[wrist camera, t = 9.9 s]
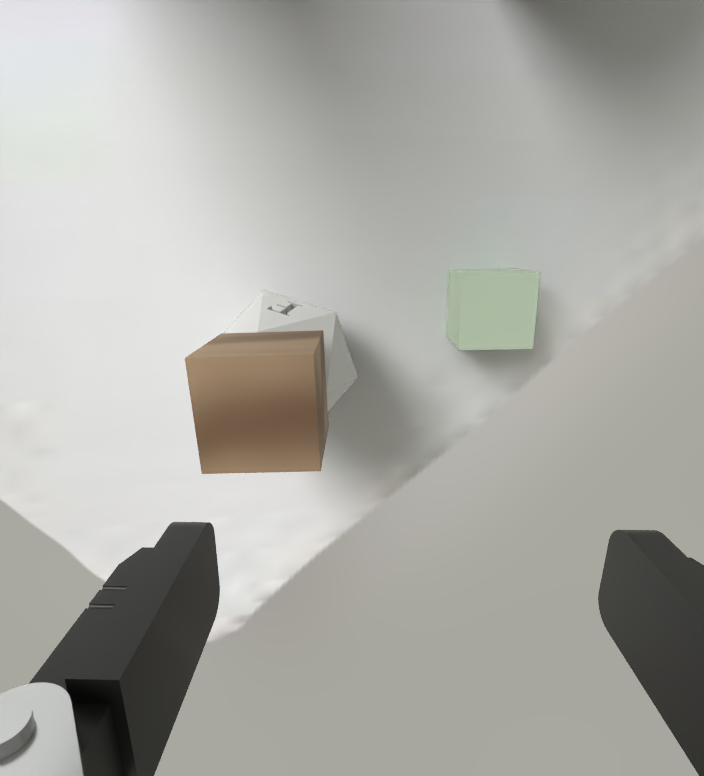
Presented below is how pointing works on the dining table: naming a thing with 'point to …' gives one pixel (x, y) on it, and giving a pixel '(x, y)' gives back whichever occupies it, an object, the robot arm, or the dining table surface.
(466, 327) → the green block
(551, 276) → the dining table surface
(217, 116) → the dining table surface
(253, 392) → the walnut block
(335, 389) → the die
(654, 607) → the robot arm
